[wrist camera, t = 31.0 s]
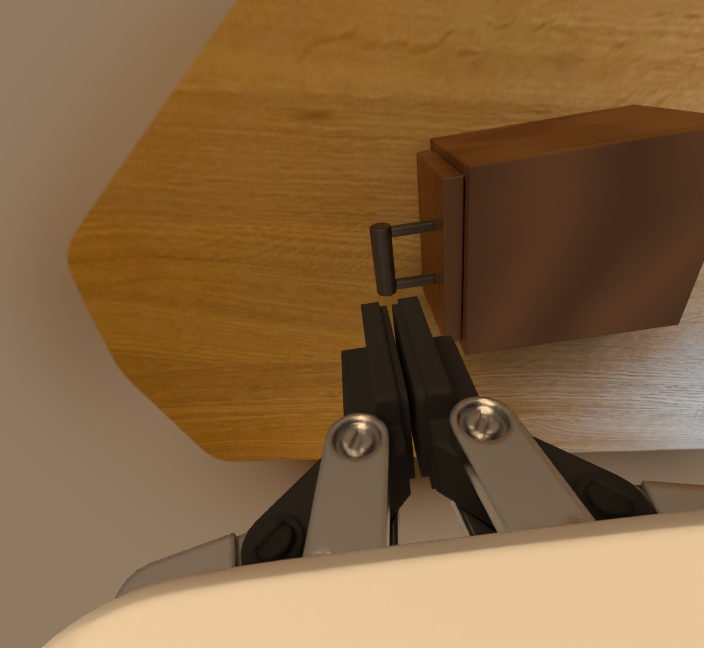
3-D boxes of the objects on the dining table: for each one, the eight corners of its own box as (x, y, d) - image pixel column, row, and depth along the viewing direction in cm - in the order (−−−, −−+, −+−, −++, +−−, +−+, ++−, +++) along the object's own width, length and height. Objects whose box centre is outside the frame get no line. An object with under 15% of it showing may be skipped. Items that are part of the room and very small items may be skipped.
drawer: (375, 297, 34) (386, 351, 28) (358, 162, 28) (367, 191, 21) (578, 267, 33) (637, 315, 27) (607, 120, 27) (695, 137, 20)
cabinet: (434, 289, 35) (465, 355, 27) (430, 138, 28) (469, 167, 20) (597, 264, 34) (678, 324, 26) (635, 104, 27) (761, 119, 19)
